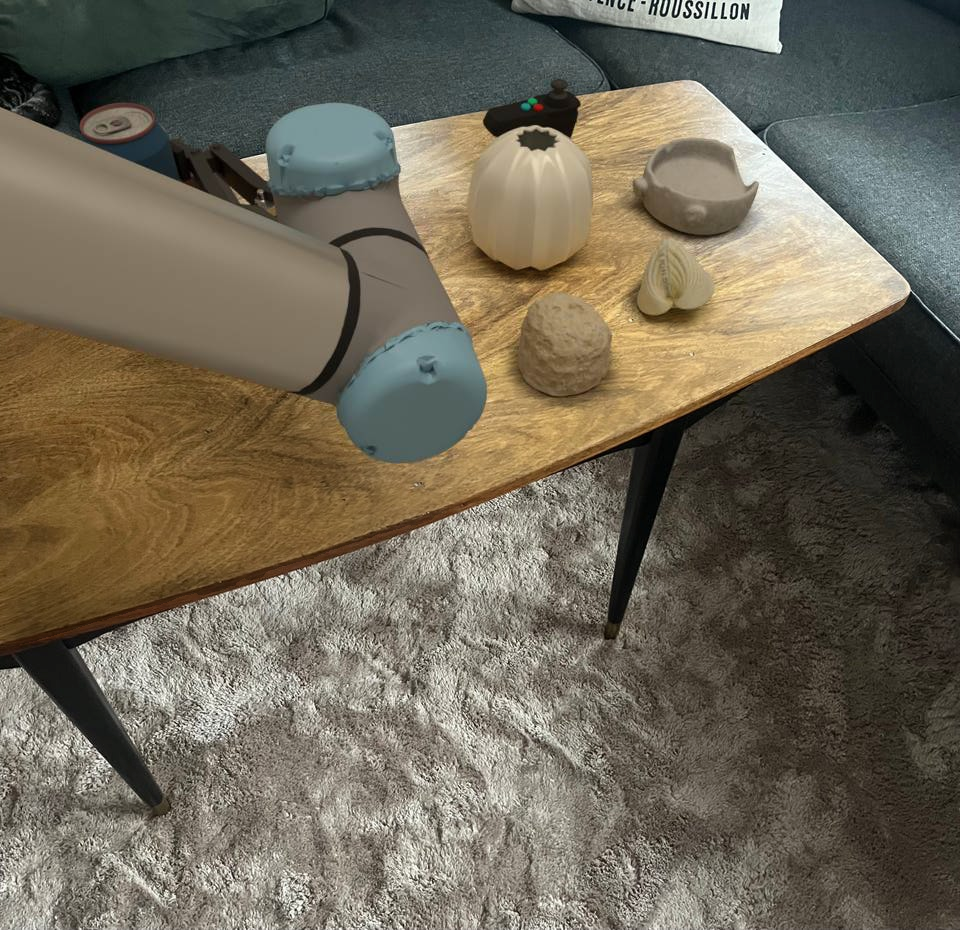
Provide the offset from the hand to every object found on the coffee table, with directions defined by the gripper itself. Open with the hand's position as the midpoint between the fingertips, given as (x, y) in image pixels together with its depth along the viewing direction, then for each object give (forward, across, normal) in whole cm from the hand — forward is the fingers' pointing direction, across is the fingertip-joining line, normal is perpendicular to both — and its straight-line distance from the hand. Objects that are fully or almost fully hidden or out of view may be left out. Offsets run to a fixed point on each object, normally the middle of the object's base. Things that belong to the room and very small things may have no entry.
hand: (103, 153), depth 72 cm
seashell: (-37, +40, -18) cm, 57 cm away
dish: (-29, +56, -18) cm, 66 cm away
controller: (-9, +49, -18) cm, 53 cm away
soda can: (-5, 0, -7) cm, 9 cm away
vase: (-20, +36, -18) cm, 45 cm away
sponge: (-35, +24, -18) cm, 46 cm away
